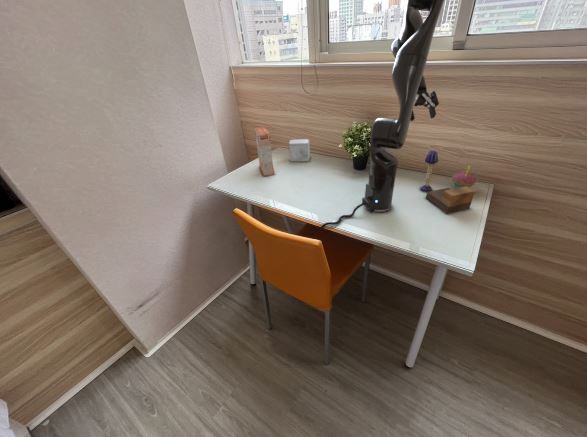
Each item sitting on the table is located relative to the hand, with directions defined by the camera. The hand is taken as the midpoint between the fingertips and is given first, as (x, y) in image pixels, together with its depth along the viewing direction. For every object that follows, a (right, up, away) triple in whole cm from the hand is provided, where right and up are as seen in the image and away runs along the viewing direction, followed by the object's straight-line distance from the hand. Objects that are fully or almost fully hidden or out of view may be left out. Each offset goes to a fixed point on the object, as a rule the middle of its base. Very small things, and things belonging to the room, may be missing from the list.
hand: (423, 118), depth 108 cm
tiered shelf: (+7, -34, -4) cm, 35 cm away
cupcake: (+17, -28, +4) cm, 33 cm away
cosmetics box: (-48, -7, +44) cm, 65 cm away
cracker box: (-66, -15, +35) cm, 76 cm away
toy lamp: (+4, -28, +6) cm, 29 cm away
